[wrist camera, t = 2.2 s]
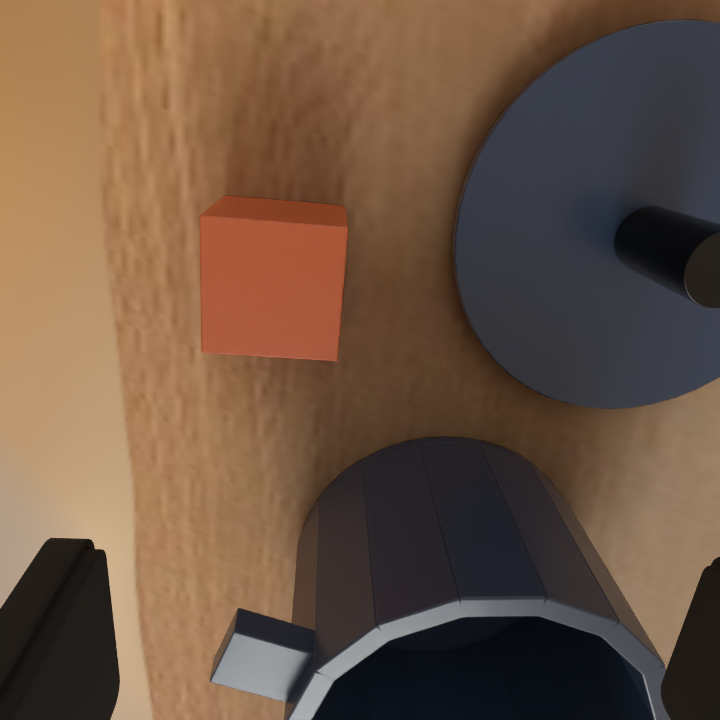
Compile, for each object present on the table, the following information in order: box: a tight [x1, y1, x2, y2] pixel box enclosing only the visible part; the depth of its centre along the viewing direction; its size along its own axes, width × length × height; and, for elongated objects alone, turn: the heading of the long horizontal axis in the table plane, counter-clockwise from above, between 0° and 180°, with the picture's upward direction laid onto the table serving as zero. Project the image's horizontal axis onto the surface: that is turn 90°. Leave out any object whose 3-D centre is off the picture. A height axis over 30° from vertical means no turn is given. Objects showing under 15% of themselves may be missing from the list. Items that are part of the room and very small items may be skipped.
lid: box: [453, 19, 720, 409], centre depth 20 cm, size 14×14×6 cm
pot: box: [210, 437, 671, 720], centre depth 25 cm, size 13×19×10 cm
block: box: [200, 196, 348, 361], centre depth 21 cm, size 4×4×4 cm
